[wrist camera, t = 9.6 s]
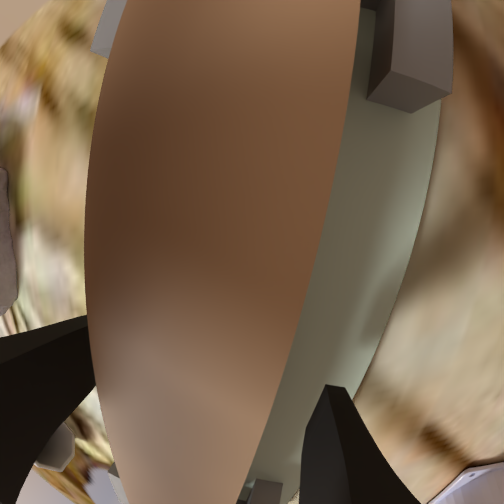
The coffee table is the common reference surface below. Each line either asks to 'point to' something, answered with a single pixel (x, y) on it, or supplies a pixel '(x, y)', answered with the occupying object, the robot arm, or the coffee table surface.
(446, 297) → the coffee table surface
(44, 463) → the tube
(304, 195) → the slat
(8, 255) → the stone block
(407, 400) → the coffee table surface
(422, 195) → the end cap cradle
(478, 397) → the coffee table surface
